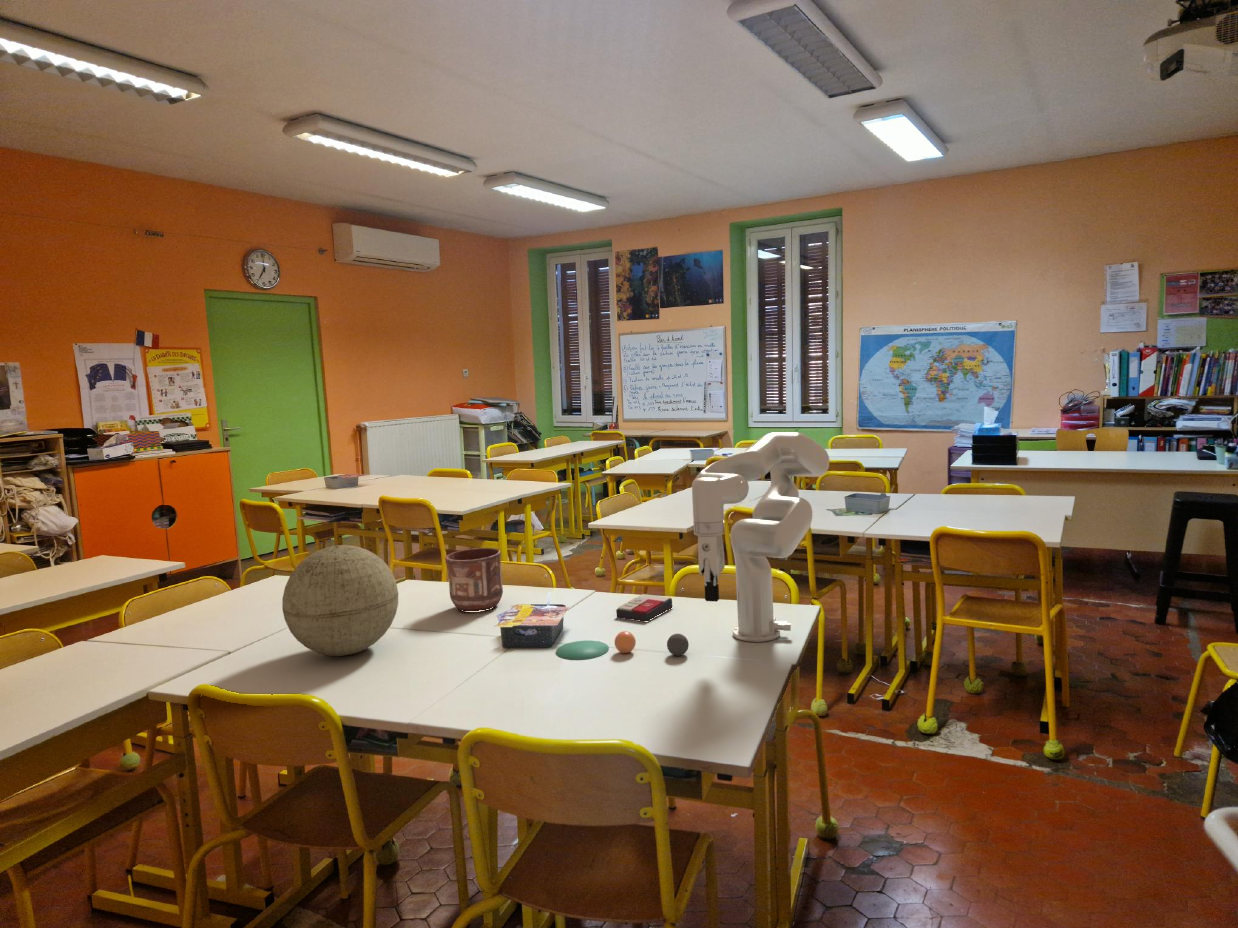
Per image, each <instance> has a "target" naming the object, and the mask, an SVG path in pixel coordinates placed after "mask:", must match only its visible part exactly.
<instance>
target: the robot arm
mask: <svg viewBox="0 0 1238 928" xmlns="http://www.w3.org/2000/svg"><path fill="white" fill-rule="evenodd" d="M829 467H830V457H829V454H828V451H827V450H826V448H824V447H823V446H822V445H821V444H820V443H818V442H817V441H815V440H814V439H813V438H811V437H809V436H808V435H807V434H804V433H802V432H795V431H794V432H793V431H792V432H791V431H790V432H789V431H786V432H783V431H782V432H781V431H780V432H778V431H776V432H769V433H766V434H763V436H761V437H760V438H759V439H757V440H756V441H755V442H753V444H751V445H750V446H749V447H748V448H746V449H745V450H744V451H742V452H739V453H736V454H733V455H730V456H727V457H725V458H722V459H718V460H717V461H715V462H713V463H711V464H709V465H707V466H705V468H703V469H702V470H701V471H700V472H699V473H698V474H697V475H696V476H695V478H694V480H693V481H692V483H691V495H692V497H691V498H692V515H693V516H692V517H693V534H694V535H695V536H697V549H698V550H697V555H698V557H697V558H698V573H699V575H700V576H703V579H704V600H705V602H718V601H719V600H720V589H719V585H720V584H719V576H720V575H721V574H722V572H723V571H724V569H725V566H726V565H725V564H726V563H725V551H724V541H723V535H725V513H724V511H725V509H724V505H728V504H729V505H733V504H739V503H741V502H743V501H744V500H745V499H746V498H747V496H748V494H749V491H750V490H749V489H750V486H749V482H753V481H756V480H758V481H759V480H760V479H762V478H764V477H765V476H766V475H767V474H768V473H770V486H769V487H768V489H767V490H766V491H765V493H764V494H763V495H762V496H761V498H760V499H759V501H758V502H757V504H756V505H755V507H754V509H753V510H752V511H753V512H752V518H743V519H739V520H738V521H736V522H735V523H734V524H733V525H732V526H731V530H730V535H729V537H730V538H729V539H730V545H731V549H732V551H733V557H734V565H735V582H736V584H735V585H736V586H735V587H736V605H737V608H736V609H737V626H735V627H734V628H733V629H732V635H733V637H734V638H735V639H737V640H740V641H744V642H749V643H750V642H752V643H759V642H760V643H761V642H769V641H773V640H776V639H778V638H779V637H780V635H781V631H784V632H786V631H787V632H791V631H792V624H791V623H789V622H788V621H784V620H783V621H781V620H780V621H779V620H778V619H776V618H777V617H776V615H774V598H773V596H774V594H773V571H772V567H771V564H770V563H769V560H768V558H774V559H776V558H777V559H778V558H779V559H784V558H785V559H786V558H788V557H790V556H791V555H792V554H793V553H794V552H795V550H796V549H797V547H798V546H799V544H800V542H801V541H802V539H804V537H805V535H806V534H807V532H808V531H809V529H810V528H811V525H812V520H813V508H812V506H811V503H810V502H809V501H808V500H807V499H806V498H803V497H800V496H799V495H800V492H799V489H798V487H797V484H795V482H794V481H793V479H792V477H812V478H817V477H821V476H822V477H823V476H824V475H825V474H826V473H828V469H829ZM767 557H768V558H767Z"/></svg>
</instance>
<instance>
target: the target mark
mask: <svg viewBox="0 0 1238 928" xmlns="http://www.w3.org/2000/svg"><path fill="white" fill-rule="evenodd" d="M609 649H610V647H609V645H608V644H607V643H604V642H602V641H599V640H576V641H571V642H568V643H565V644H562V645H560V646H559V647H557V648H556V650H555V653H556V656H558V657H560V658H562V659H564V660H570V661H571V660H572V661H573V660H575V661H581V660H591V659H596V658H598V657H601V656H603V655H606V653H608V651H609Z"/></svg>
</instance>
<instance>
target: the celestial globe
mask: <svg viewBox="0 0 1238 928" xmlns="http://www.w3.org/2000/svg"><path fill="white" fill-rule="evenodd" d="M281 602H282V603H281V604H282V607H281V608H282V613H283V619H284V621H285V623H286V625H287V627H288V630H289V631H290V633H291V635H292V636H293V637H294V638H295V640H296V641H298V642H299V643H300V644H301V645H303V646H304V647H305V648H307V649H308V650H310V651H313V652H315V653H317V654H320V655H324V656H330V657H342V656H343V657H344V656H349V655H353V654H358V653H360V652H363V651H365V650H366V649H368V648H369V647H371V646H373V645H374V644H375V643H377V642H379V640H380V639H382V637H383V636H384V635H386V634H387V632H388V630H389V629H390V627H391V625H392V623H393V622H394V619H395V618H396V615H397V611H398V606H399V590H398V585H397V580H396V578H395V576H394V573H393V571H392V570H391V569H390V567H389V565H388V564H387V563H386V562H385V561H384V560H383V559H382V558H381V557H380V556H378V555H377V554H375V553H374V552H372V551H370V550H368V549H365V548H362V547H359V546H357V545H346V544H339V545H338V544H337V545H331V546H327V547H325V548H322V549H319V550H317V551H315V552H312V554H310V555H309V556H307V557H306V558H304V559H303V560H301V562H300V563H298V565H297V566H296V567H295V568H294V570H293V571H292V572H291V574H290V575H289V578H288V579H287V581H286V584H285V587H284V589H283V595H282V601H281Z"/></svg>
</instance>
